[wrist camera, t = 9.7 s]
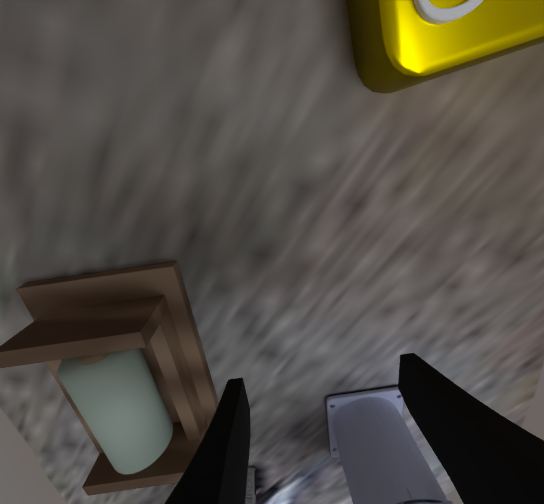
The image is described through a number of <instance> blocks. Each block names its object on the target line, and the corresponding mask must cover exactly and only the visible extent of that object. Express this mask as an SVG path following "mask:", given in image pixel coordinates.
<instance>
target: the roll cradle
mask: <svg viewBox="0 0 544 504" xmlns="http://www.w3.org/2000/svg"><path fill="white" fill-rule="evenodd" d="M17 291H18V293H19V295H20V296H21V298H22V300H23V302H24V303H25V305H26V307H27V309H28V310H29V312H30V314H31V316H32V317H33V319H34V322H33V323H31V324H30V325H28V326H27V327H26V328H24V329H23V330H22V331H20V332H19V333H18V334H16V335H15V336H14V337H12V338H11V339H10V340H8V341H7V342H5V343H4V344H3V345H1V346H0V368H5V367H12V366H19V365H25V364H32V363H39V362H46V364H47V366H48V367H49V369H50V371H51V372H52V374H53V376H54V377H55V379H56V381H57V382H58V384H59V386H60V387H61V389H62V391H63V392H64V394H65V396H66V397H67V399H68V401H69V403H70V404H71V406H72V408H73V409H74V411H75V413H76V414H77V416H78V418H79V419H80V421H81V423H82V424H83V426H84V428H85V429H86V431H87V433H88V434H89V436H90V438H91V440H92V441H93V443H94V445H95V446H96V448H97V450H98V451H99V453H100V455H99V457H98V458H97V460H96V462H95V464H94V466H93V468H92V470H91V472H90V473H89V475H88V477H87V479H86V481H85V483H84V485H83V487H82V488H83V489H84V490H85V492H86V493H87V495H95V494H102V493H109V492H116V491H122V490H129V489H136V488H143V487H150V486H157V485H164V484H170V483H177V482H179V480H180V479H181V477H182V475H183V474H184V472H185V470H186V468H187V467H188V465H189V463H190V461H191V460H192V458H193V456H194V454H195V452H196V450H197V448H198V447H199V445H200V443H201V441H202V439H203V437H204V435H205V433H206V431H207V429H208V427H209V425H210V422H211V420H212V418H213V416H214V414H215V412H216V409H217V407H218V405H219V402H218V399H217V396H216V392H215V389H214V385H213V382H212V379H211V375H210V372H209V368H208V365H207V361H206V358H205V355H204V351H203V348H202V344H201V341H200V338H199V334H198V331H197V327H196V324H195V320H194V317H193V314H192V310H191V307H190V303H189V300H188V297H187V293H186V290H185V286H184V283H183V280H182V276H181V273H180V269H179V266H178V262H177V261H175V262H168V263H161V264H154V265H147V266H140V267H133V268H126V269H119V270H112V271H105V272H98V273H91V274H84V275H77V276H70V277H63V278H56V279H49V280H42V281H35V282H28V283H26V284H24V285H22V286H20V287H19V288H17ZM137 348H141V350H142V352H143V354H144V357H145V359H146V361H147V364H148V366H149V368H150V371H151V373H152V375H153V378H154V380H155V382H156V385H157V387H158V389H159V392H160V394H161V396H162V399H163V401H164V403H165V406H166V408H167V410H168V413H169V415H170V417H171V420H172V422H173V434H172V437H171V440H170V442H169V444H168V446H167V448H166V449H165V450H164V452H163V453H162V454H161V456H160V457H159V458H158V459H157V460H156V461H155V462H153V463H152V464H151V465H150V466H148V467H147V468H145V469H143V470H141V471H139V472H136V473H133V474H121V473H118V472H117V471H116V470H115V469H114V467H113V466H112V464H111V463H110V461H109V459H108V458H107V456H106V454H105V453H104V451H103V449H102V448H101V446H100V444H99V443H98V441H97V440H96V438H95V436H94V435H93V433H92V431H91V430H90V428H89V426H88V425H87V423H86V422H85V420H84V418H83V417H82V415H81V413H80V412H79V410H78V408H77V407H76V405H75V404H74V402H73V400H72V399H71V397H70V395H69V394H68V392H67V390H66V389H65V387H64V386H63V384H62V382H61V381H60V379H59V377H58V375H57V369H58V367H59V365H60V363H61V362H62V361H63V360H64V359H67V358H74V357H81V356H88V355H95V354H102V353H109V352H116V351H123V350H130V349H137Z"/></svg>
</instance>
